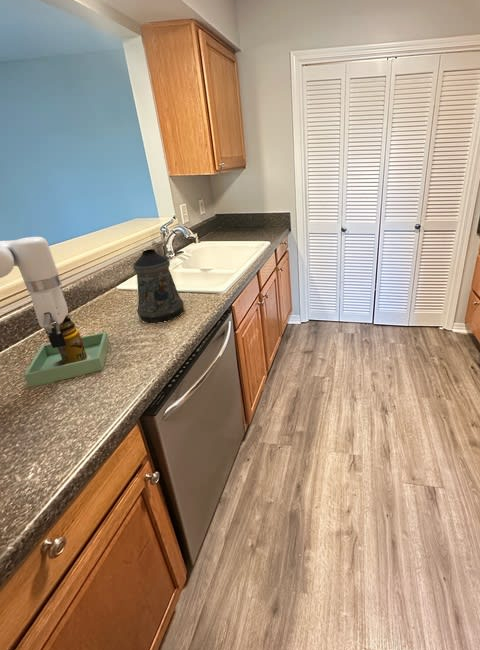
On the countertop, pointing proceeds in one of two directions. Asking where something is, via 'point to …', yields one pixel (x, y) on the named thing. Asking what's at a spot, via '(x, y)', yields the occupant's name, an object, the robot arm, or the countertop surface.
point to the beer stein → (156, 289)
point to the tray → (47, 373)
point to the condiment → (71, 345)
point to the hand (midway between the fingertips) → (63, 338)
